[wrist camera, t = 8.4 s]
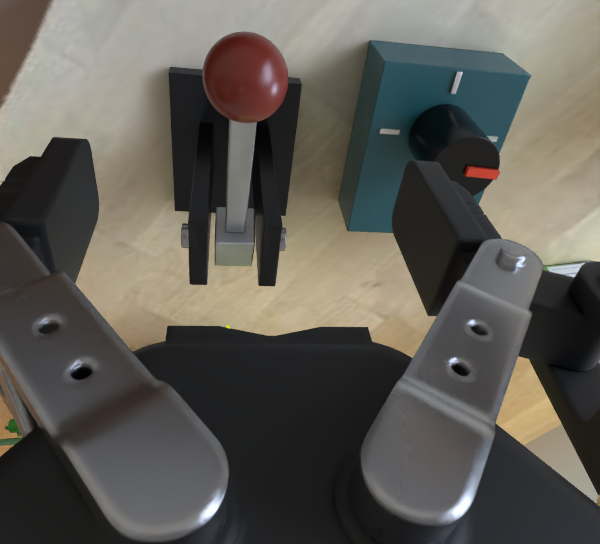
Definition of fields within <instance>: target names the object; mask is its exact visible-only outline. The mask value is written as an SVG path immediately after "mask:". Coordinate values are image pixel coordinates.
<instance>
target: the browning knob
mask: <svg viewBox="0 0 600 544" xmlns="http://www.w3.org/2000/svg"><path fill="white" fill-rule="evenodd" d="M408 144H409V148H410V151H411V153H412V154H413V156H414V158H415V160H416V161H430V162H438V163H440V165H441V166H442V168H443V169H444V171H445V172H446V174H447V175H448V177H449V178H450V180H451V181H456V182H457V183H458V184H460V185H461V186H462V187H464V188H465V189H466V190H468V191H469V192H470V193H471V195H472V196H474V195H476V194H478V193H480V192H481V191H483V190H484V189H485V188H486V187H487V186H488V185H489V184H490V183H491V182H492V180H493V179H497V177H498V175H499V173H500V171H499V170H498V169H499V164H500V155H499V152H498V149H497V147H496V146H495V145H494V144H493V142H492V141H491V140H490V139H489V138H488V137H487V136H486V134H485V133H484V132H483V131H482V130H481V129H480V128H479V126H478V125H477V124H476V123H475V122H474V121H473V120H472V119H471V117H470V116H469V115H468V114H467V113H466V112H465V111H464V110H463V109H462V108H460V107H459V106H456V105H452V104H441V105H437V106H434V107H432V108H430V109H428V110H426V111H425V112H423V113H422V114H421V115H420V116H419V117H418V118H417V119H416V121H415V122H414V123H413V125H412V127H411V130H410V133H409V138H408Z"/></svg>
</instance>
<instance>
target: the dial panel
mask: <svg viewBox="0 0 600 544" xmlns="http://www.w3.org/2000/svg"><path fill="white" fill-rule="evenodd" d="M530 77H531V75H530V74H529V73H528V72H526V71H525V70H524V69H522V68H521V67H520V66H518V65H517V64H516V63H515V62H513V61H512V60H511V59H509V58H508V57H507V56H505V55H504V54H502V53H492V52H482V51H472V50H462V49H452V48H443V47H433V46H423V45H413V44H403V43H393V42H384V41H374V40H370V42H369V47H368V52H367V57H366V62H365V67H364V72H363V78H362V83H361V88H360V93H359V98H358V103H357V108H356V113H355V118H354V123H353V128H352V133H351V138H350V143H349V148H348V153H347V159H346V164H345V169H344V174H343V179H342V184H341V189H340V194H339V199H338V201H339V205H340V208H341V211H342V215H343V218H344V221H345V225H346V228H347V231H359V232H384V233H393V230H392V213H393V209H394V205H395V202H396V198H397V195H398V191H399V187H400V184H401V180H402V177H403V173H404V170H405V167H406V165H407V163H408V162H409V161H411V160H414V161H416V160H415V158H414V156H413V154H412V153H411V151H410V148H409V144H408V138H409V133H410V130H411V127H412V125H413V123H414V122H415V121H416V119H417V118H418V117H419V116H420V115H421V114H422V113H423V112H425V111H426V110H428V109H430V108H432V107H434V106H437V105H441V104H452V105H456V106H459V107H460V108H462V109H463V110H464V111H465V112H466V113H467V114H468V115H469V116H470V117H471V119H472V120H473V121H474V122H475V123H476V124H477V125H478V126H479V128H480V129H481V130H482V131H483V132H484V133H485V134H486V136H487V137H488V138H489V139H490V140H491V141H492V142H493V144H494V145H495V146H496V147H497V149H498V152H499V153H500V151H501V148H502V146H503V143H504V141H505V138H506V136H507V133H508V131H509V129H510V126H511V124H512V121H513V119H514V116H515V114H516V111H517V109H518V106H519V104H520V102H521V99H522V97H523V94H524V92H525V89H526V87H527V84H528V82H529V79H530ZM484 190H485V189H484ZM484 190H483V191H481V192H480V193H478V194H476V195H474V196H473V198H474V199H475V201H476V202H477V205H479V202H480V200H481V197H482V195H483V192H484Z"/></svg>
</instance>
